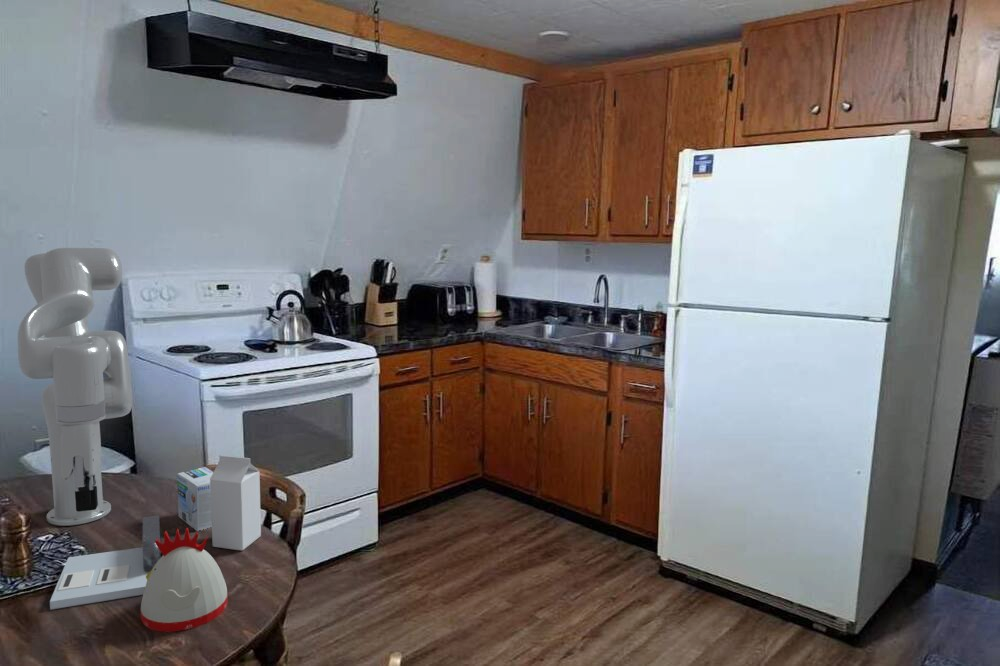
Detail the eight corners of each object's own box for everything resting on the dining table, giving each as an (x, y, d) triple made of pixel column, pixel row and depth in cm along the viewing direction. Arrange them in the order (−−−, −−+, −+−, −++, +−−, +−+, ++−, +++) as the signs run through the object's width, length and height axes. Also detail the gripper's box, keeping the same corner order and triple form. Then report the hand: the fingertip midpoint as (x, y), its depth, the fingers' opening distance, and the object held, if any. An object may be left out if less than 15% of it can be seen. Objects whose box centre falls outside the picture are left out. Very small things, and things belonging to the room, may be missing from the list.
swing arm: (160, 536, 142) (158, 512, 142) (161, 569, 129) (159, 544, 128) (144, 538, 141) (142, 515, 140) (143, 572, 128) (142, 547, 127)
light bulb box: (177, 517, 156) (175, 472, 154) (206, 509, 161) (205, 465, 159) (197, 532, 149) (195, 485, 147) (227, 523, 154) (225, 478, 152)
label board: (68, 564, 133) (68, 556, 133) (153, 552, 139) (153, 544, 139) (50, 609, 118) (49, 600, 118) (146, 593, 124) (146, 584, 123)
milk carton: (242, 551, 141) (240, 464, 138) (212, 547, 142) (209, 460, 139) (261, 536, 148) (259, 453, 145) (232, 532, 149) (229, 450, 146)
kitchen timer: (146, 595, 123) (142, 517, 121) (227, 583, 128) (225, 508, 126) (136, 638, 111) (131, 552, 108) (226, 623, 116) (224, 540, 113)
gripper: (65, 402, 126) (71, 496, 129) (46, 424, 113) (53, 528, 115) (111, 400, 129) (116, 491, 132) (98, 421, 115) (104, 522, 118)
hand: (87, 508), depth 124 cm, fingers closed
